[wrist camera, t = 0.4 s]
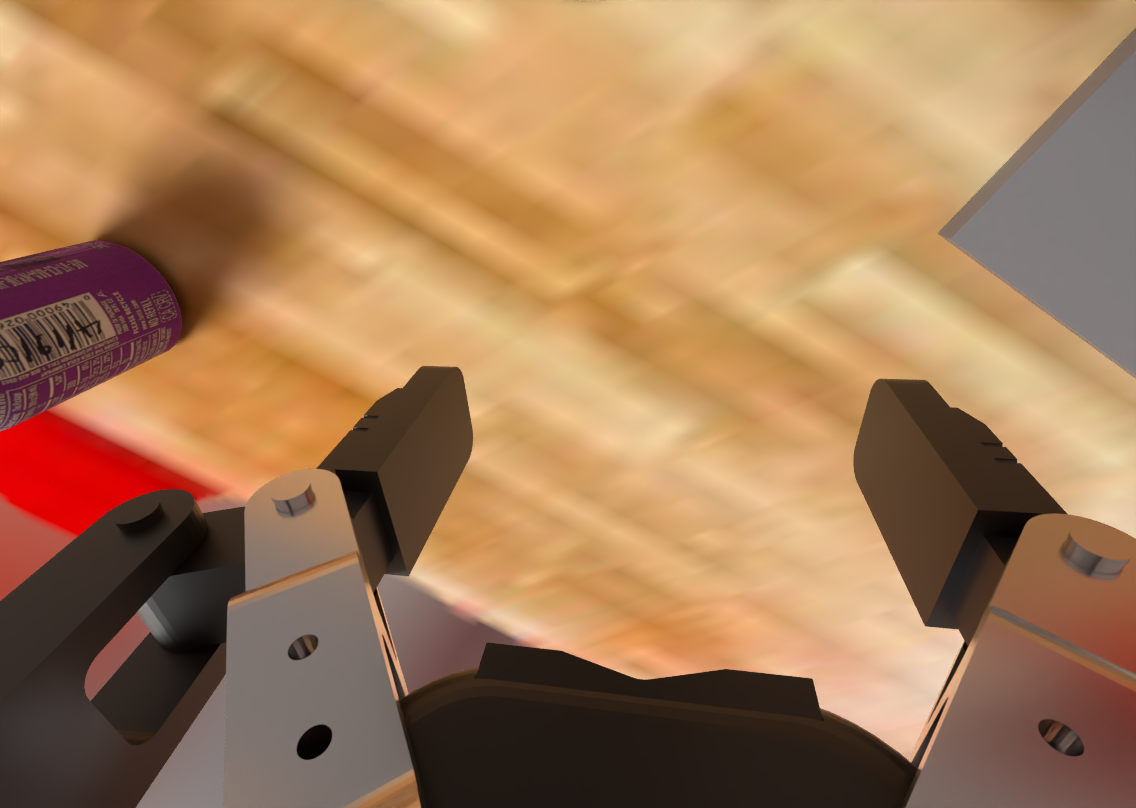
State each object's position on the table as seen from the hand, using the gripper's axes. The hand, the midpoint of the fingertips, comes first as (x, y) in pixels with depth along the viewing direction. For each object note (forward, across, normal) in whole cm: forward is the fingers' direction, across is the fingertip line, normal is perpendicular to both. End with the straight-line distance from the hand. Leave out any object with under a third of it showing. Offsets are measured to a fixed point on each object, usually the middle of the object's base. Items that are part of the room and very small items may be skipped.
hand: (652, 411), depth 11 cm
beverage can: (+18, +32, +4) cm, 37 cm away
